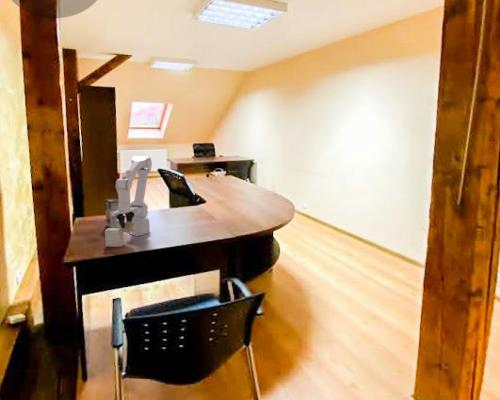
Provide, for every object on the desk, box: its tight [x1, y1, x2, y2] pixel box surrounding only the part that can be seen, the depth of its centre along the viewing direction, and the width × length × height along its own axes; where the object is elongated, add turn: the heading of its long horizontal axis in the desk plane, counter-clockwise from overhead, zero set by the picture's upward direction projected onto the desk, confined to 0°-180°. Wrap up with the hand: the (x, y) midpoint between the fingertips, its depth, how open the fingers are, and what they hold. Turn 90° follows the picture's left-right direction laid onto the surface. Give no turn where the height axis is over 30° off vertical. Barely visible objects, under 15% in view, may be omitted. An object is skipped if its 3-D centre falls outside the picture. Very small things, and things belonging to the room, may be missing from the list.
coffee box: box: [104, 198, 119, 228], centre depth 220 cm, size 9×6×16 cm
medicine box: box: [104, 227, 124, 248], centre depth 188 cm, size 8×4×9 cm, turn 92°
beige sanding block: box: [115, 219, 135, 235], centre depth 193 cm, size 3×12×5 cm, turn 53°
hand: (125, 226), depth 192 cm, fingers closed on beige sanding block, 3 cm apart
